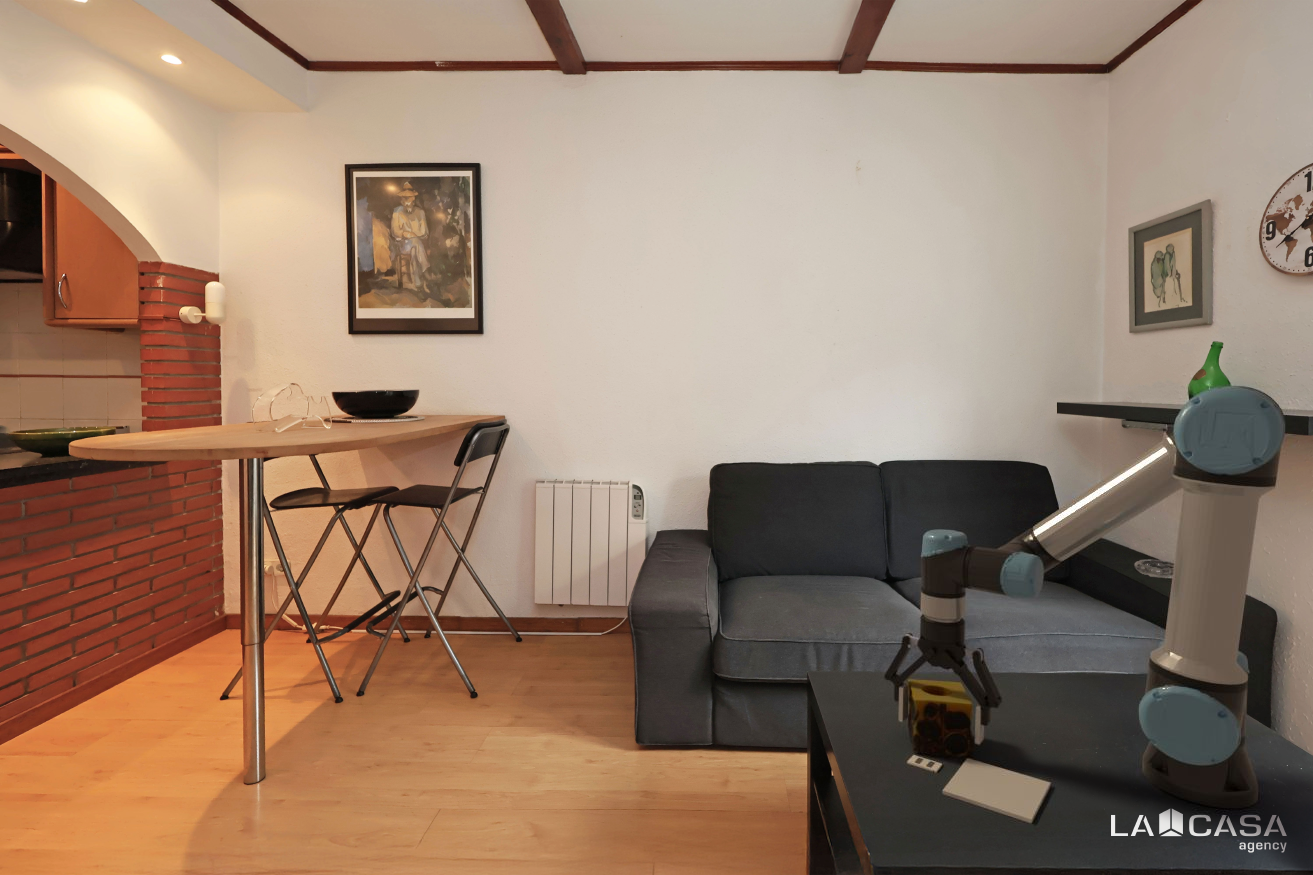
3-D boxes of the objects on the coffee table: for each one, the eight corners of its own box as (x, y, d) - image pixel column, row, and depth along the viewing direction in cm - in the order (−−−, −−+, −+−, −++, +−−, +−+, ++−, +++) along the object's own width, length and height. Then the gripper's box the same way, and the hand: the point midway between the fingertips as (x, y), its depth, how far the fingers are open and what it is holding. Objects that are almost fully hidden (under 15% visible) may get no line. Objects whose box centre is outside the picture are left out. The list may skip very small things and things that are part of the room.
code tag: (942, 765, 126) (942, 763, 126) (936, 772, 124) (936, 770, 124) (913, 756, 129) (913, 754, 129) (907, 763, 127) (907, 761, 127)
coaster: (1050, 785, 119) (1050, 782, 119) (1031, 823, 109) (1031, 819, 109) (967, 761, 127) (967, 757, 127) (942, 793, 117) (942, 790, 117)
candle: (974, 760, 128) (974, 704, 127) (913, 754, 130) (913, 699, 129) (963, 733, 138) (963, 681, 137) (906, 728, 140) (907, 677, 139)
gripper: (1023, 624, 127) (1019, 742, 128) (883, 598, 143) (882, 704, 144) (1011, 636, 121) (1008, 759, 123) (867, 607, 137) (866, 717, 139)
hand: (940, 729), depth 134 cm, fingers open, 13 cm apart
